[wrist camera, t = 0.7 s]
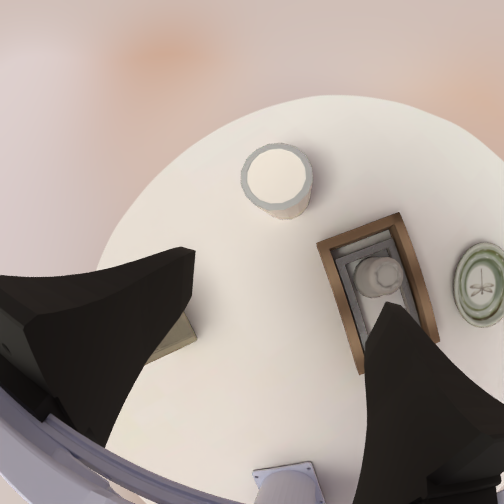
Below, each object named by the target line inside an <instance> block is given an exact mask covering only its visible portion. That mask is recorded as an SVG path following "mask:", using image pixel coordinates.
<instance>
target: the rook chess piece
mask: <svg viewBox="0 0 504 504" xmlns="http://www.w3.org/2000/svg"><path fill="white" fill-rule="evenodd" d="M402 281H403V270H402V268H401V266H400V264H399V263H398V262H397V261H396V260H395V259H392V258H390V257H381V258H379V257H368V258H366V259H364V260H362V261H361V262H360V263H359V264H358V265H357V266H356V269H355V272H354V284H355V286H356V289H357V290H358V291H359V292H360V293H361V294H362V295H363V296H366V297H369V298H376V297H380V296H382V295H389V294H392V293H394V292H396V291H397V290H398V288H399V287H400V286H401V284H402Z"/></svg>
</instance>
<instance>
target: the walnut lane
mask: <svg viewBox="0 0 504 504" xmlns="http://www.w3.org/2000/svg"><path fill="white" fill-rule="evenodd" d="M388 229H389V231H390V234H391V237H392V238H393V240H394V243H395V246H396V248H397V251H398V254H399V257H400V260H401V263H402V265H403V268H404V271H405V274H406V278H407V281H408V284H409V287H410V290H411V293H412V297H413V300H414V304H415V307H416V311H417V314H418V318H419V322H420V326H421V328H422V329H423V330H424V331H425V333H426V334H427V335H428V336H429V337H430V338H431V340H432V341H433V342H434V343H435V344H436V343H438V342H440V338H439V334H438V329H437V325H436V321H435V317H434V313H433V310H432V306H431V302H430V299H429V295H428V292H427V288H426V285H425V282H424V278H423V275H422V272H421V269H420V266H419V263H418V260H417V257H416V254H415V251H414V249H413V246H412V243H411V240H410V238H409V235H408V232H407V230H406V227H405V225H404V222H403V220H402V217H401V215H400V212H398V213H395V214H392V215H390V216H387V217H385V218H382V219H379V220H377V221H374V222H371V223H369V224H366V225H363V226H361V227H358V228H355V229H353V230H350V231H347V232H345V233H342V234H339V235H337V236H334V237H331V238H329V239H326V240H323V241H321V242H318V243H316V244H317V248H318V251H319V254H320V256H321V259H322V262H323V265H324V268H325V271H326V273H327V276H328V279H329V282H330V285H331V288H332V291H333V294H334V297H335V300H336V303H337V306H338V309H339V312H340V315H341V318H342V322H343V325H344V328H345V331H346V334H347V338H348V341H349V344H350V348H351V351H352V354H353V358H354V361H355V365H356V368H357V370H358V373H359V375H361V374H364V354H363V351H362V347H361V344H360V340H359V337H358V334H357V330H356V327H355V324H354V321H353V318H352V314H351V311H350V308H349V305H348V302H347V299H346V296H345V293H344V290H343V287H342V284H341V281H340V278H339V275H338V272H337V269H336V267H335V264H334V261H333V258H332V255H331V253H330V251H333V250H335V249H338V248H341V247H343V246H346V245H349V244H351V243H354V242H357V241H359V240H362V239H365V238H367V237H370V236H372V235H375V234H378V233H380V232H383V231H385V230H388Z"/></svg>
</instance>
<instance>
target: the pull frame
mask: <svg viewBox="0 0 504 504" xmlns="http://www.w3.org/2000/svg"><path fill="white" fill-rule="evenodd" d="M384 249H387V252H388V254H389V257H390V258H392V259H395V260H396V261H397V262H398V263H399V264H400V266H401V268H402V270H403V281H402V284H401V286H400V290H401V293H402V297H403V300H404V303H405V307H406V310H407V312H408V313H409V314H410V315H411V316H412V317H413V319H414V320H415V321H416V322H417V323H418V324H419V326H420V322H419V318H418V314H417V311H416V307H415V304H414V300H413V297H412V293H411V290H410V287H409V284H408V281H407V278H406V274H405V271H404V268H403V265H402V263H401V260H400V257H399V254H398V251H397V248H396V246H395V243H394V240H393V238H390V239H388V240H385V241H383V242H380V243H378V244H375V245H372V246H370V247H367V248H365V249H362V250H359V251H357V252H354V253H351V254H349V255H346V256H343V257H341V258H338V259H335V263H336V266H337V269H338V272H339V275H340V278H341V280H342V283H343V286H344V289H345V292H346V295H347V298H348V301H349V304H350V308H351V311H352V314H353V317H354V320H355V323H356V327H357V330H358V333H359V337H360V340H361V343H362V347H363V350H364V354H365V342H366V340H367V338H368V335H367V331H366V328H365V325H364V321H363V318H362V315H361V312H360V309H359V305H358V302H357V299H356V296H355V293H354V290H353V287H352V284H351V281H350V278H349V275H348V272H347V270H346V267H345V264H348V263H350V262H353V261H355V260H358V259H361V258H363V257H366V256H368V255H371V254H374V253H376V252H379V251H381V250H384ZM420 327H421V326H420Z"/></svg>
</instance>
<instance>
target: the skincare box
mask: <svg viewBox="0 0 504 504" xmlns="http://www.w3.org/2000/svg"><path fill="white" fill-rule="evenodd" d="M196 340H197V338H196V336H195V333H194V331H193V329H192V327H191V325H190V323H189V321H188V319H187V317H186V315H185V313H184V311H183V313H182V315H181V316H180V318H179V319H178V320H177V322H176V323H175V324H174V326H173V327H172V328H171V330H170V331H169V332H168V334H167V335H166V336H165V338H164V339H163V340H162V342H161V343H160V344H159V346H158V347H157V348H156V349H155V351H154V352H153V353H152V355H151V356H150V358H149V359H148V361H147V362H146V364H148V363H150V362H153V361H155V360H157V359H159V358H161V357H163V356H165V355H168V354H170V353H172V352H174V351H176V350H178V349H180V348H182V347H184V346H186V345H188V344H191V343H192V342H194V341H196ZM146 364H145V365H146Z"/></svg>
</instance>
